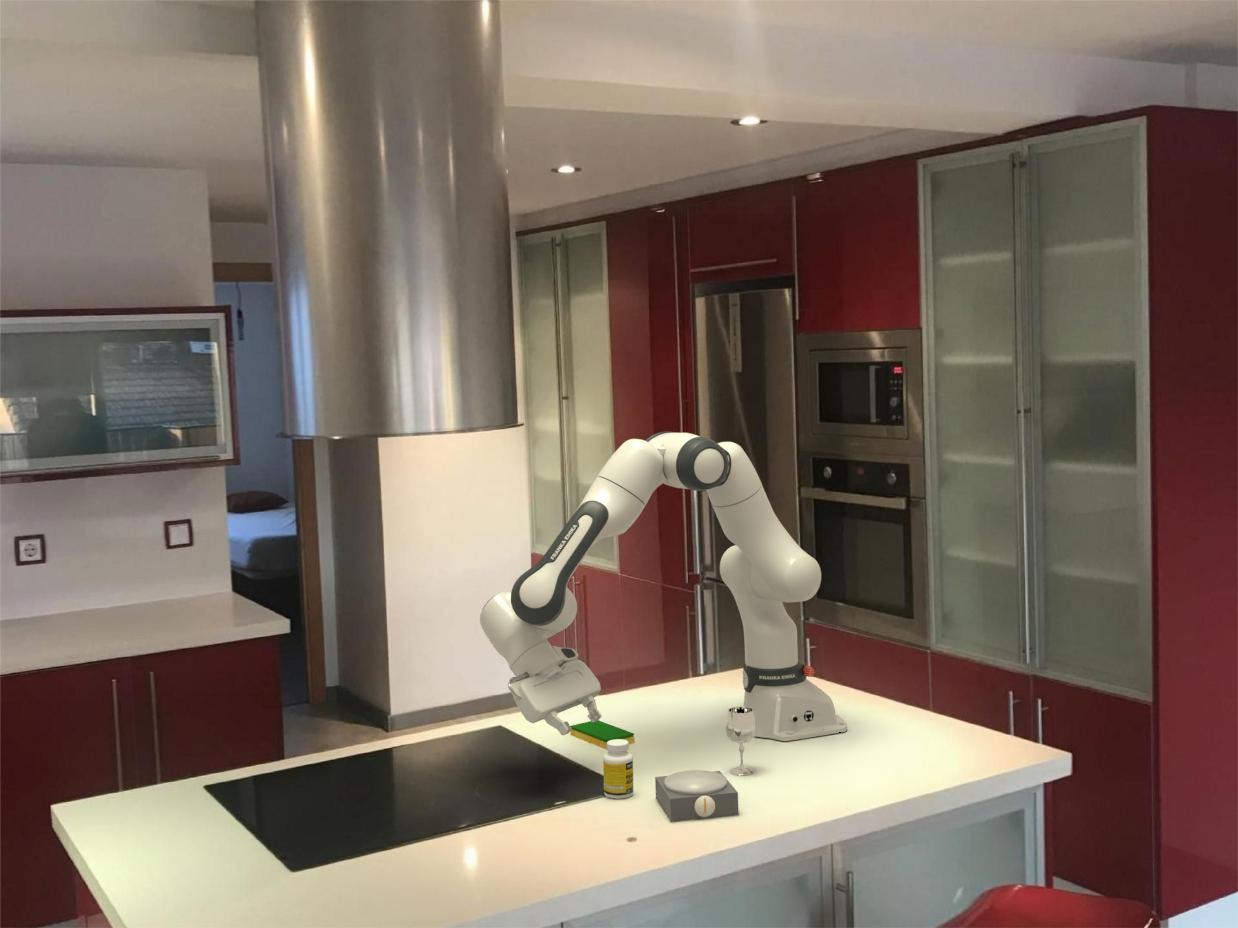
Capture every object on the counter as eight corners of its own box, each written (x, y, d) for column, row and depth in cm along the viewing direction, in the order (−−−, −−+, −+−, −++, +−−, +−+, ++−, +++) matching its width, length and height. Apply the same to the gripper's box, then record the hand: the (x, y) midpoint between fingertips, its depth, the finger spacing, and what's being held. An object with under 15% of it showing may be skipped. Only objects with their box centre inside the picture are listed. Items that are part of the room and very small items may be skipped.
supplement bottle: (630, 800, 233) (629, 746, 232) (601, 798, 234) (599, 746, 233) (636, 790, 238) (634, 737, 238) (607, 788, 239) (605, 737, 239)
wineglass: (758, 776, 244) (757, 713, 243) (728, 777, 244) (726, 714, 243) (755, 766, 250) (754, 705, 249) (725, 767, 250) (724, 706, 249)
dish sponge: (607, 751, 263) (606, 739, 263) (569, 736, 275) (569, 725, 275) (635, 744, 268) (634, 733, 267) (597, 730, 279) (596, 718, 279)
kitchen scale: (720, 792, 236) (719, 766, 235) (739, 815, 223) (738, 788, 223) (655, 798, 233) (655, 772, 233) (671, 822, 221) (670, 795, 221)
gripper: (513, 669, 234) (558, 730, 230) (579, 646, 251) (623, 702, 246) (495, 691, 237) (539, 751, 233) (562, 666, 254) (604, 722, 249)
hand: (582, 725), depth 240 cm, fingers open, 8 cm apart
